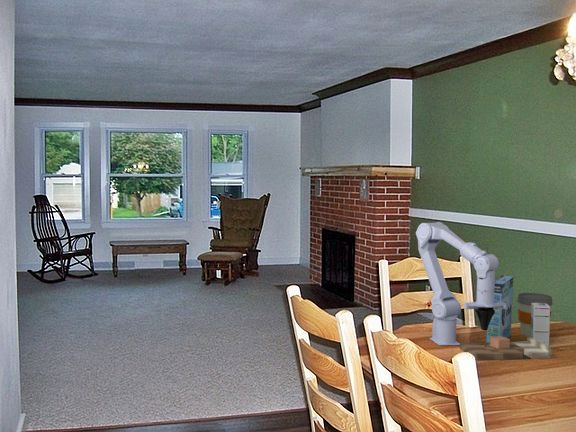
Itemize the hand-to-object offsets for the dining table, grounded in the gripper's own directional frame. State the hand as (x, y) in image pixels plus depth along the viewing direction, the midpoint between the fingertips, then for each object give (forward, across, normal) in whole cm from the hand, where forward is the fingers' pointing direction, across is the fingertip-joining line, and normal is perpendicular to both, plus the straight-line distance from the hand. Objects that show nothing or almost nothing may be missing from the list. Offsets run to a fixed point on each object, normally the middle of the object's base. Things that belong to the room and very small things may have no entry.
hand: (484, 329), depth 217 cm
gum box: (+8, +13, +15) cm, 21 cm away
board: (+8, +6, -1) cm, 10 cm away
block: (+6, +6, 0) cm, 8 cm away
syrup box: (+8, +26, +10) cm, 29 cm away
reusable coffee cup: (+8, +31, +23) cm, 39 cm away
